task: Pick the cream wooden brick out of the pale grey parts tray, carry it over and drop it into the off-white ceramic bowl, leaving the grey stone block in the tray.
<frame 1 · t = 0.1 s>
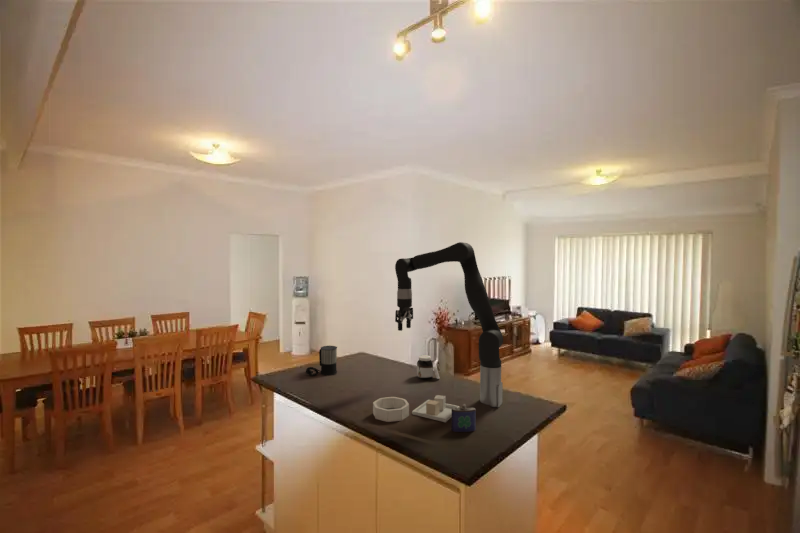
hand: (404, 329, 190), 29 cm above the table, fingers open, 8 cm apart
flask: (463, 433, 140), on the table
spread jar: (428, 378, 204), on the table
cream wooden brick: (432, 414, 153), point 1 cm above the table, touching tray
tray: (436, 413, 156), on the table
bowl: (390, 416, 154), on the table
milk frother: (321, 374, 211), on the table
pebble grey: (439, 408, 159), point 1 cm above the table, touching tray
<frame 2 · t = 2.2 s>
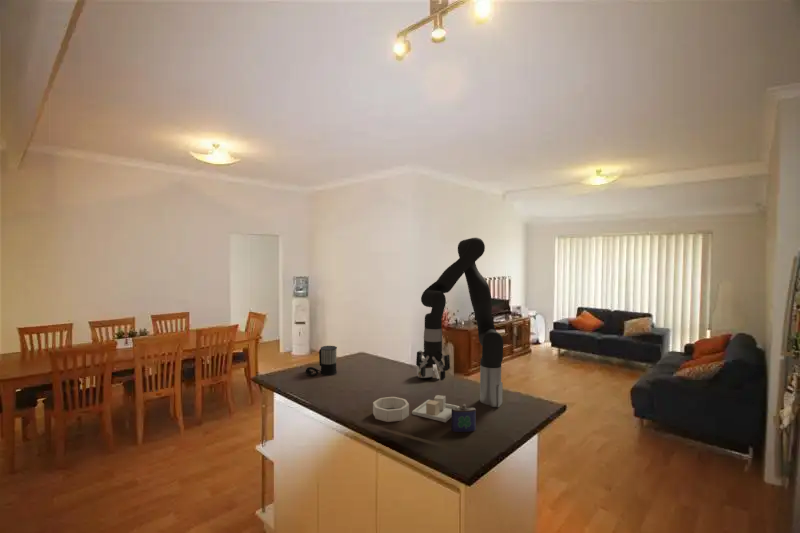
hand: (432, 378, 153), 16 cm above the table, fingers open, 8 cm apart
nothing on the table moved.
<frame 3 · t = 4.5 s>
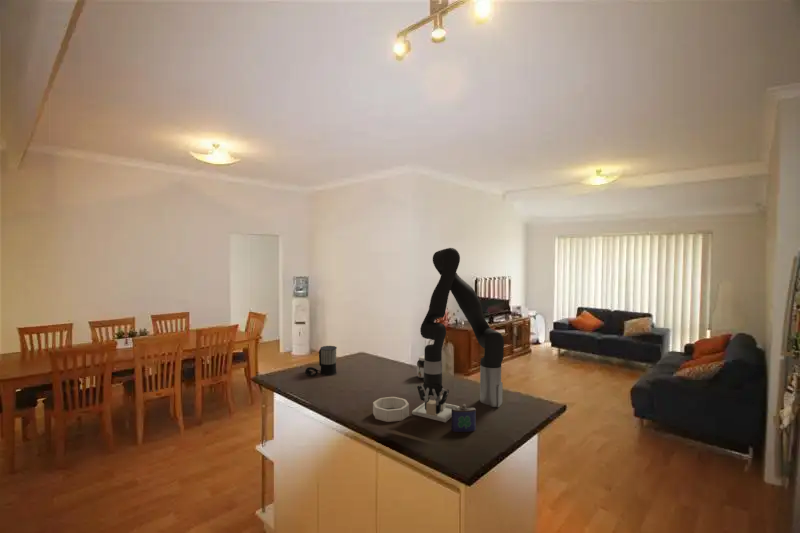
hand: (432, 411, 153), 2 cm above the table, fingers closed on cream wooden brick, 4 cm apart
cream wooden brick: (432, 414, 153), point 1 cm above the table, touching gripper, tray
everything else where it was.
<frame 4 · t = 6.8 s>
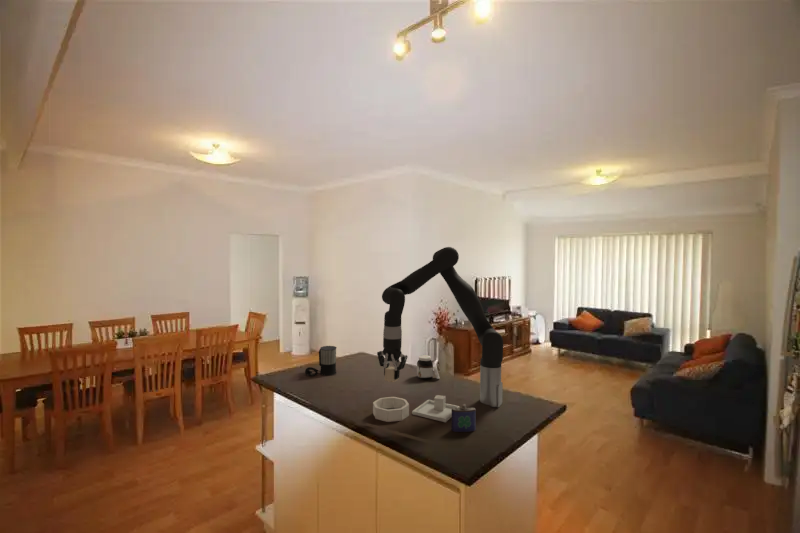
hand: (391, 377, 153), 16 cm above the table, fingers closed on cream wooden brick, 4 cm apart
cream wooden brick: (391, 380, 153), point 15 cm above the table, touching gripper
everything else where it was.
when the fingers open (3 cm above the table, at t = 9.5 s): cream wooden brick drops 1 cm, resting on bowl.
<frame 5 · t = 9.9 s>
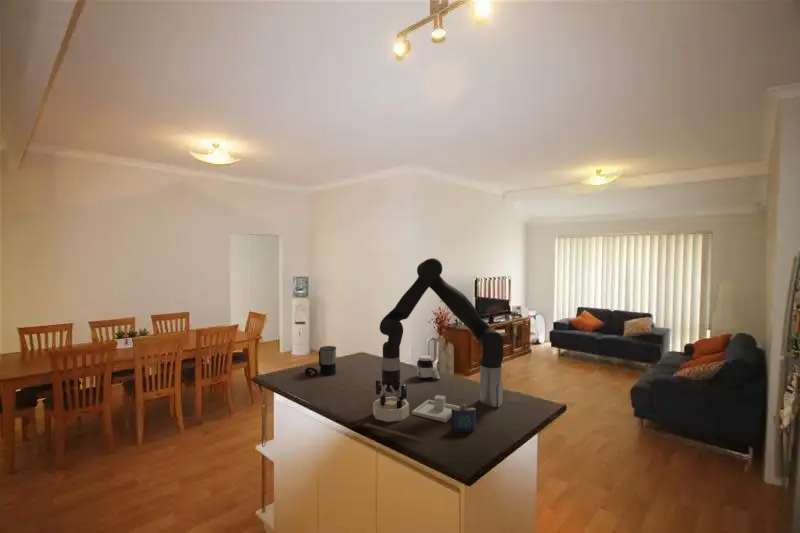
hand: (390, 407, 154), 4 cm above the table, fingers open, 7 cm apart
cream wooden brick: (391, 414, 154), point 1 cm above the table, touching bowl
everything else where it was.
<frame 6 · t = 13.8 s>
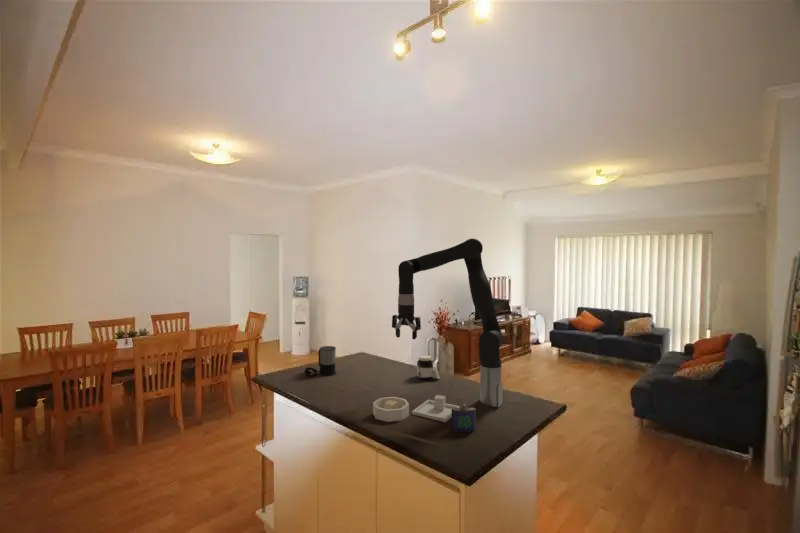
hand: (406, 338, 174), 28 cm above the table, fingers open, 8 cm apart
at the end: cream wooden brick inside the target area on the bowl (0.2 cm from its centre), point 0.8 cm above the bowl's base; the gripper is holding nothing; pebble grey moved 0.0 cm from its start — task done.
